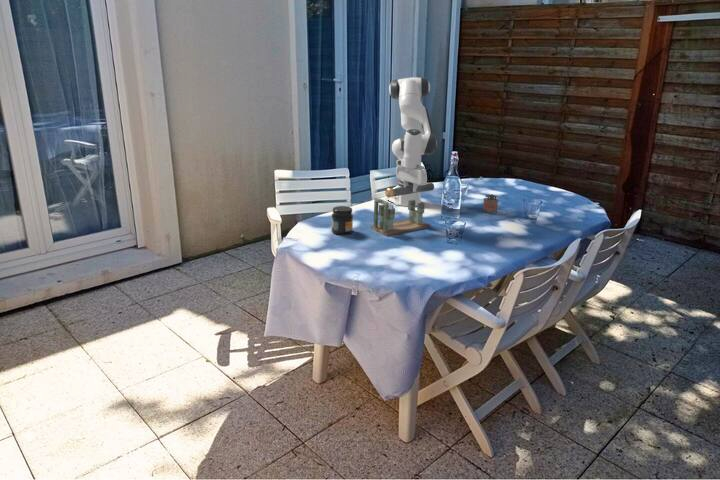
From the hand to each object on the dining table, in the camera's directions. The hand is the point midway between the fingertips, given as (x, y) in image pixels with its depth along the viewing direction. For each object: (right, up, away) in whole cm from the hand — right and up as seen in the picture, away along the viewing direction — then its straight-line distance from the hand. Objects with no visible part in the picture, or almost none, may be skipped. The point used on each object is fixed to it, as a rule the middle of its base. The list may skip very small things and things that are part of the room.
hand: (410, 190), depth 276 cm
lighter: (+48, -9, +36) cm, 61 cm away
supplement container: (-34, -21, -4) cm, 40 cm away
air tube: (0, -1, +1) cm, 2 cm away
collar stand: (-5, -19, +4) cm, 20 cm away
